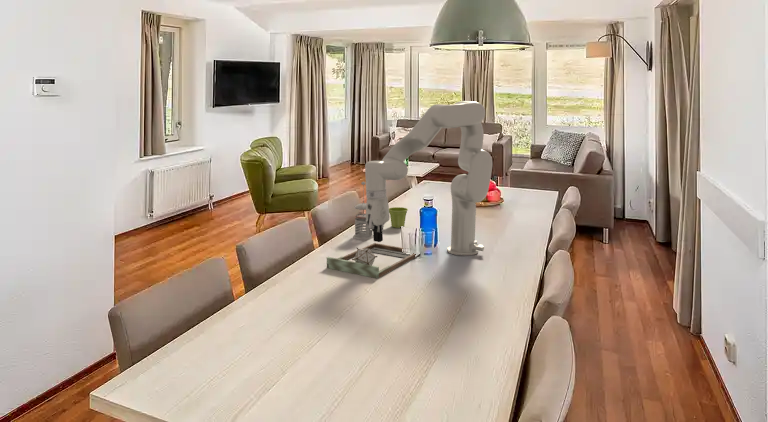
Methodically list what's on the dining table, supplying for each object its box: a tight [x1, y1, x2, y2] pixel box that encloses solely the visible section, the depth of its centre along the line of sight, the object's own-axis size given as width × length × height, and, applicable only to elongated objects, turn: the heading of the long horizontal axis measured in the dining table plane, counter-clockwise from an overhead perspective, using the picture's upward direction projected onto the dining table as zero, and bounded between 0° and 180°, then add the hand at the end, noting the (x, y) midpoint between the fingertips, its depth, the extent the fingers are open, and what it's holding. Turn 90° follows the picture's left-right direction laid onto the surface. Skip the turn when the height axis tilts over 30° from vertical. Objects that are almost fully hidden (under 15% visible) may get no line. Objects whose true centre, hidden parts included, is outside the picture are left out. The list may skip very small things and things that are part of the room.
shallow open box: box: [326, 242, 416, 279], centre depth 204 cm, size 22×33×4 cm
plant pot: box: [389, 206, 409, 229], centre depth 256 cm, size 9×9×9 cm
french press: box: [352, 181, 373, 241], centre depth 236 cm, size 10×12×25 cm
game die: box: [351, 245, 378, 266], centre depth 195 cm, size 9×8×10 cm
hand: (378, 241), depth 203 cm, fingers closed
